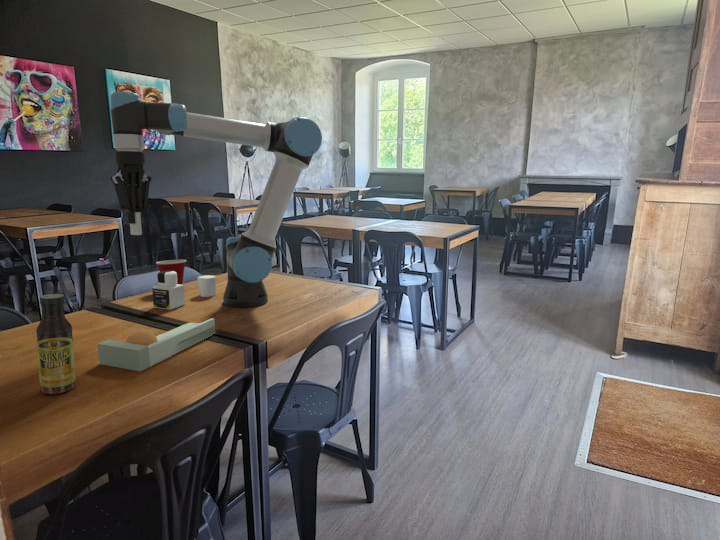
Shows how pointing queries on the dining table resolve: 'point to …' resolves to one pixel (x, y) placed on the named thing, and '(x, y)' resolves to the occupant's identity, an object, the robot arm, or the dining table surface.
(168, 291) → the medicine bottle
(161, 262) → the plastic cup
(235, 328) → the dining table surface
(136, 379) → the dining table surface
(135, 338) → the ball
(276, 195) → the robot arm
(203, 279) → the white tapered cup
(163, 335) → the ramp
